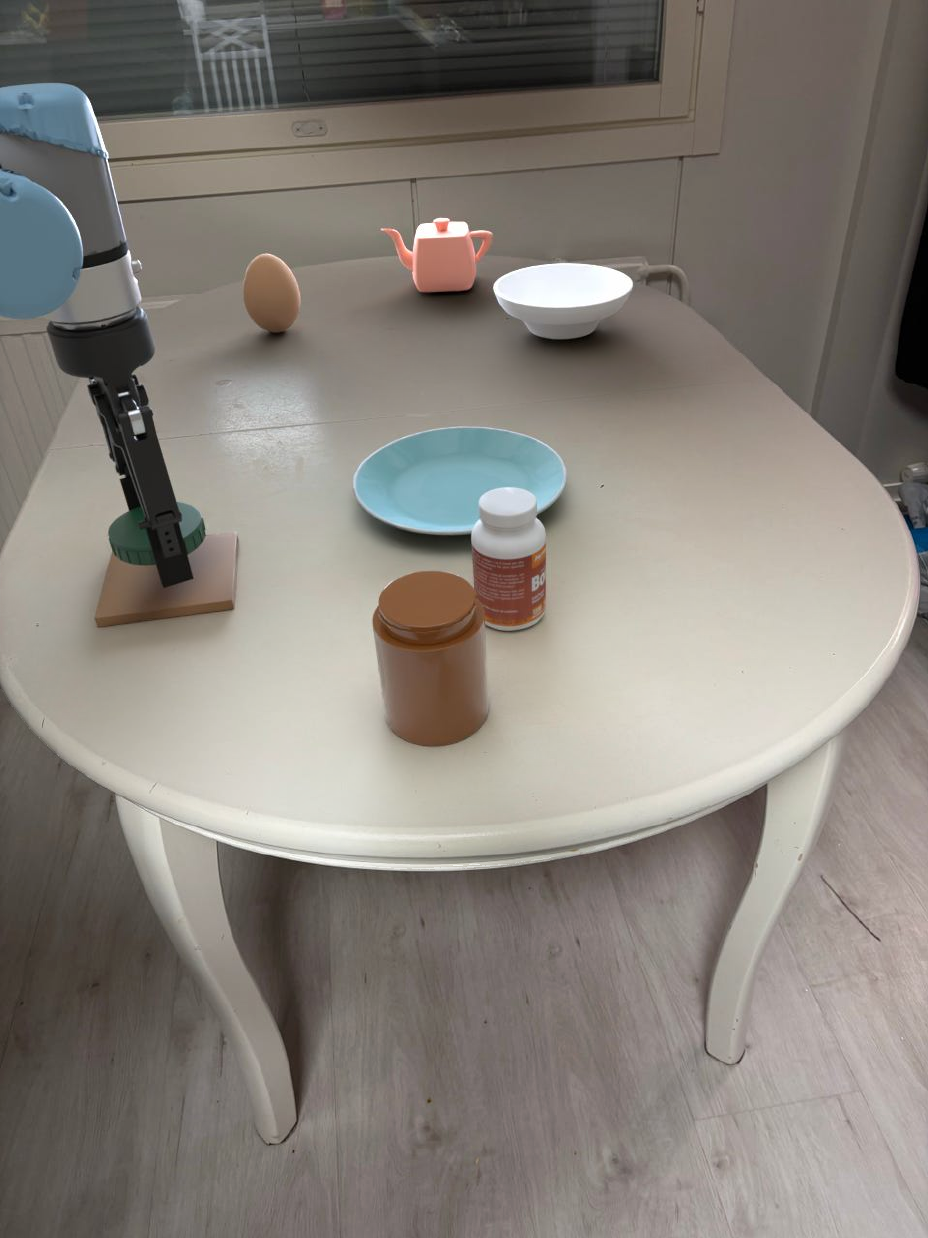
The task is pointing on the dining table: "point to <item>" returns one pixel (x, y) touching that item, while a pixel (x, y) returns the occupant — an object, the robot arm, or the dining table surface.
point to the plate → (453, 477)
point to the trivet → (144, 598)
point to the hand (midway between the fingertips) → (164, 558)
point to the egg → (271, 293)
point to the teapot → (442, 255)
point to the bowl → (563, 297)
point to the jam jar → (432, 657)
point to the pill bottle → (509, 559)
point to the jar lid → (135, 543)
